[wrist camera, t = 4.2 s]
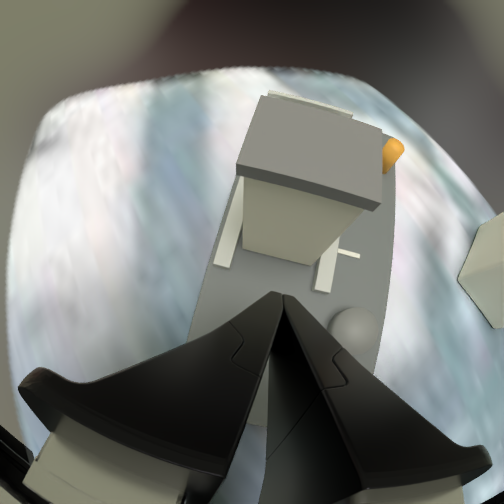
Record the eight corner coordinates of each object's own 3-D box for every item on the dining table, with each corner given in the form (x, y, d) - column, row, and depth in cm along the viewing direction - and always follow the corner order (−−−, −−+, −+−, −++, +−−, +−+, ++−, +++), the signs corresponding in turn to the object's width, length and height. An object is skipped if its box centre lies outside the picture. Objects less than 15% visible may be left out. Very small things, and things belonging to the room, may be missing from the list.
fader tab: (313, 269, 17) (381, 203, 8) (238, 251, 18) (236, 163, 9) (322, 221, 18) (381, 129, 9) (252, 203, 19) (261, 95, 9)
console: (350, 433, 15) (373, 452, 12) (174, 399, 16) (157, 414, 12) (390, 142, 22) (407, 116, 18) (262, 105, 22) (265, 73, 19)
